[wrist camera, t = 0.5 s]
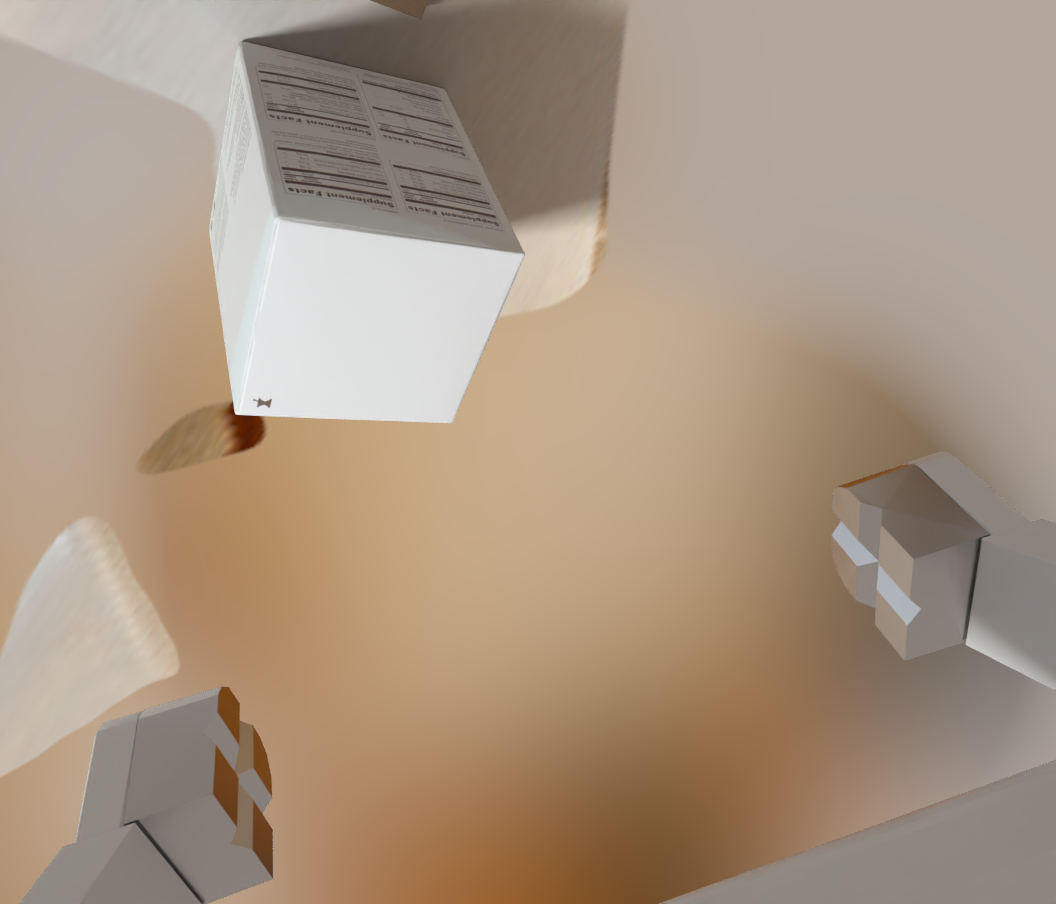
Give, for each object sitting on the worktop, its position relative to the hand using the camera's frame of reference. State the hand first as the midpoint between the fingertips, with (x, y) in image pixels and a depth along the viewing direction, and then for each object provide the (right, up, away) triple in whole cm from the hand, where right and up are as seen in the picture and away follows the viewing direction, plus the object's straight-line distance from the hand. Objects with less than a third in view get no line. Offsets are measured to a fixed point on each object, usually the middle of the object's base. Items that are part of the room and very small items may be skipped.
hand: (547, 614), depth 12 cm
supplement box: (-13, +21, +46) cm, 53 cm away
